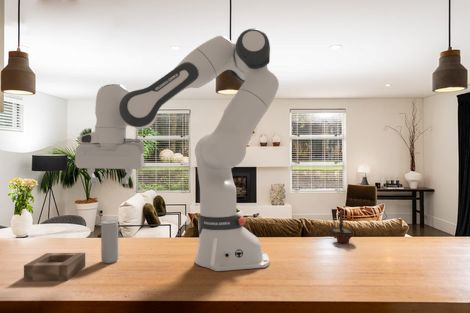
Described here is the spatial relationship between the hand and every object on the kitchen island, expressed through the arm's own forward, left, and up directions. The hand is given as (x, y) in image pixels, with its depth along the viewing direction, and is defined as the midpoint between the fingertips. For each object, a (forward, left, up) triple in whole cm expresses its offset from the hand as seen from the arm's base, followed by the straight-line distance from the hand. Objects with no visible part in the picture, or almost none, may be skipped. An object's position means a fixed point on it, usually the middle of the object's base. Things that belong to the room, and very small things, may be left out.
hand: (109, 183), depth 101 cm
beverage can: (0, 0, -24) cm, 24 cm away
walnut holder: (+11, +10, -24) cm, 28 cm away
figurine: (-78, -19, -24) cm, 84 cm away
